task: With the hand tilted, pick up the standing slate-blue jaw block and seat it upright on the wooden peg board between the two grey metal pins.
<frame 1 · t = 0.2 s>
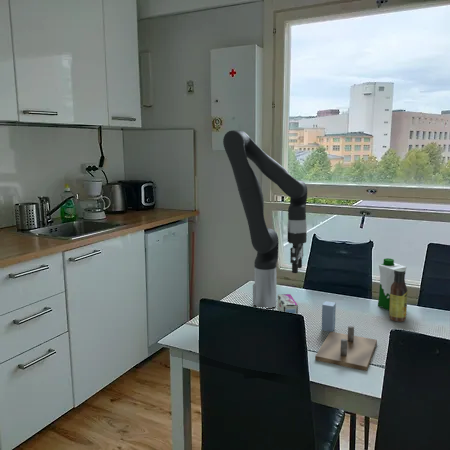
hand: (297, 270, 178), 18 cm above the table, tool pointing down, fingers open, 8 cm apart
milk carton: (390, 307, 184), on the table
jaw block: (328, 329, 164), on the table
sauce bottle: (397, 319, 172), on the table
wooden peg board: (347, 351, 147), on the table
candy bar box: (286, 344, 153), on the table
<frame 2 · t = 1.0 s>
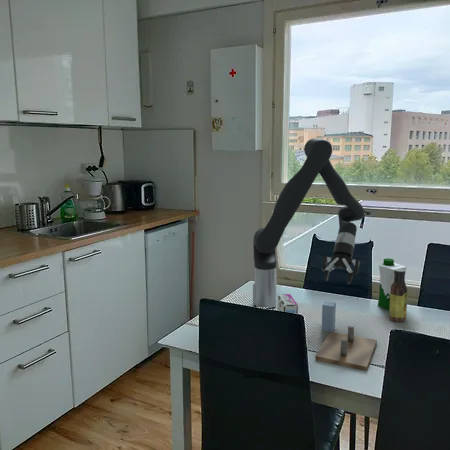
hand: (337, 281, 171), 15 cm above the table, tool tilted 45°, fingers open, 8 cm apart
nothing on the table moved.
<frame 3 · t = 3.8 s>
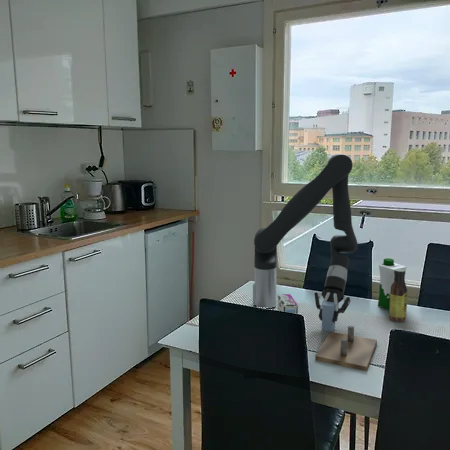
hand: (327, 320, 162), 4 cm above the table, tool tilted 45°, fingers closed on jaw block, 4 cm apart
jaw block: (328, 329, 164), on the table, touching gripper
everything else where it was.
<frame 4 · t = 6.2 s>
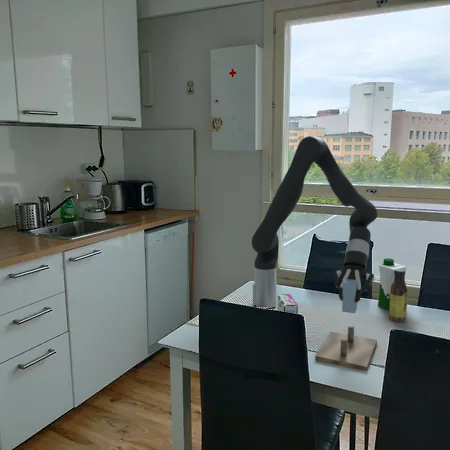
hand: (348, 300, 142), 18 cm above the table, tool tilted 45°, fingers closed on jaw block, 4 cm apart
jaw block: (349, 310, 145), point 14 cm above the table, touching gripper
everything else where it was.
when the fingers open (6 cm above the table, at t = 8.9 s): jaw block stays where it is, resting on wooden peg board.
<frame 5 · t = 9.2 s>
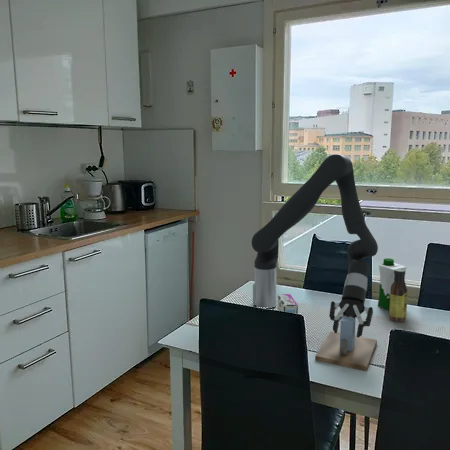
hand: (346, 334, 144), 7 cm above the table, tool tilted 45°, fingers open, 6 cm apart
jaw block: (347, 347, 147), point 1 cm above the table, touching wooden peg board
everything else where it was.
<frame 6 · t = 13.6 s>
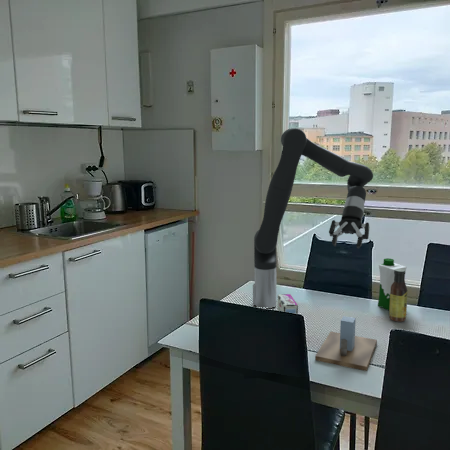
hand: (345, 246, 162), 31 cm above the table, tool tilted 45°, fingers open, 8 cm apart
nothing on the table moved.
at the end: jaw block inside the target area on the wooden peg board (0.1 cm from its centre), point 1.5 cm above the wooden peg board's base; jaw block tilted 0°; the gripper is holding nothing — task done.
